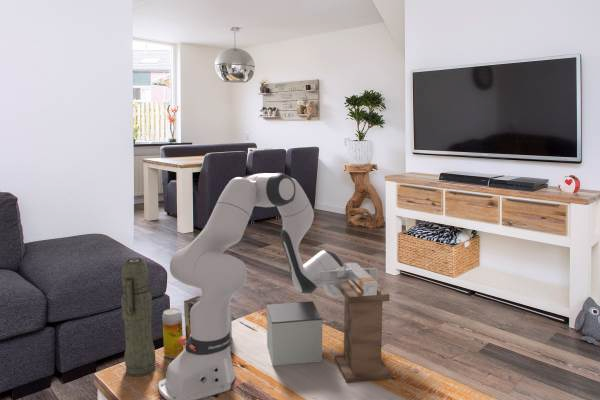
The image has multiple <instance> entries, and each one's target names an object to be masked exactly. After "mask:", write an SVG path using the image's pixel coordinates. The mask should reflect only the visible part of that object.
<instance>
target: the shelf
mask: <svg viewBox="0 0 600 400" xmlns="http://www.w3.org/2000/svg"><path fill="white" fill-rule="evenodd" d="M266 341H267V342H266V345H267V349H268V353H269V357H270V361H271V365H272V367H276V366H277V367H278V366H287V365H297V364H307V363H318V362H319V363H320V362H323V317H322V315H321V313H320V311H319V310H318V308H317V307H316V305H315V303H314V302H313V301H311V300H310V301H299V302H286V303H285V302H283V303H272V304H268V303H267V304H266Z"/></svg>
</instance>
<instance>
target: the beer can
mask: <svg viewBox="0 0 600 400" xmlns="http://www.w3.org/2000/svg"><path fill="white" fill-rule="evenodd" d="M182 317H183V315H182V312H181V310H180V309H179V308H168V309H165V310H164V311H163V314H162V317H161V318H162V332H163V333H162V335H163V337H162V338H163V352H164V356H166V358H169V359H175V358H176V357H177V356H178V355H179V354H180V353H181V352H182V351H183V350H184V345H182V344H181V343H179V339H180V337H182V336H183V335H184V334H183V318H182ZM183 337H184V336H183Z"/></svg>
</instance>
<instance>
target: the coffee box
mask: <svg viewBox="0 0 600 400" xmlns="http://www.w3.org/2000/svg"><path fill="white" fill-rule="evenodd" d="M201 297H202V296H199V295H196V296H195V297H191V298H188V299H186V300H184V301H183V307H184V309H183V310H184V311H183V312H184V327H185V328H184V329H185V338H186V339H187V340H188V338H189V335H190V333H191V328H190V310H191V308H192V306H193V305H194V304H195V303H197V302H198V301H200V300H201Z"/></svg>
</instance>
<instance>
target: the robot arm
mask: <svg viewBox="0 0 600 400" xmlns="http://www.w3.org/2000/svg"><path fill="white" fill-rule="evenodd" d="M254 207H260V208H273V207H276V208H277V210H278V212H279V214H280V217H281V220H282V221H281V222H282V229H281V232H280V241H281V243H282V244H281V245H282V247H283V252H284V254H285V259H286V261H287V264H288V267H289V271H290V277H291V282H292V284H293V286H294V288H295V289H296V290H297V291H298V292H299V293H301V294H307V295H308V294H312V293H313V292H315V290H316V289H318V288H319V286H323V291H324V292H325V295H326V296H328V297H330V298H333V299H340V298H342V297H344V296H343V294H342V293H341V292H340V291H339V283H347V277H346V275H348V272H347V271H348V270H347V269H344V263H343V262H342V261H341V259H340V258H339V257H338V255H337V254H335V252H332V251H330V250H326V249H324V250H323V249H321V250H320V251H318V252H317V253H316V254H315V255H313V256H312V257H311V258H310V259H308V260H307V261H306V262H304V263H303V261H302V258H301V255H300V252H299V246H300V245H301V244H300V243H301V241H302V239H303V238H304V237H305V234H306V233H307V232H308V231H309V229H310V228H311V226H312V225H313V222H314V218H315V212H314V209H313V207H312V204H311V201H310V200H309V198H308V196H307V194H306V193H305V190H304V189H303V187H302V186H301V185H300V183H299V182H298V181H297V180H296V179H295V178H293V177H291V176H289V175H287V174H286V173H283V172H276V173H274V172H273V173H271V172H262V173H255V174H249V175H246V176H243V177H241V176H237V177H233V178H232V179H230V180H229V181H228V183H227V184H226V185H225V187H224V188H223V190H222V192H221V194H220V195H219V197H218V200H217V201H216V204H215V206H214V207H213V211H212V212H211V215H210V217H209V218H208V220H207V223H206V224H205V225H204V227H203V229H202V230H201V232H199V234H198V235H197V236H196V237H195V238H194V239H193V240H192V241H191V242H190V243H188V245H185V246H184V247H182V248H181V249H178V250H177V251H175V252H174V254H173V255H172V257H171V259H170V262H169V271H170V274H171V276H172V277H173V278H174V279H175V280H176V281H177V280H178V282H180V283H182V284H184V285H186V286H191V287H195V288H199V289H200V291H201V296H200V297H201V300H200V301H198V302H197V303H195V304H194V305H193V306H192V308H191V310H190V328H191V333H190V335H189V338H188V340H187V339H186V336H182V337H180V339H179V343H181V344H182V345H183V346H185V348H183V351H182V352H181V353H180V354H179V355H178V356H177V357H176V358H173V360H172V361H171V362H170V363H169V364H168V366H167V368H166V373H165V378H162V379H161V380H159V381H158V383H157V384H158V386H157V389H158V392H159V393H160V395H161V396H162V397H163V398H164V399H165V400H201V399H204V398H207V397H211V396H214V395H218V394H221V393H225V392H228V391H230V390H231V387H232V383H233V382H234V381H235V379H236V372H235V368H234V366H233V362H232V354H231V348H230V347H231V344H232V342H231V337H230V331H229V305H231V301H232V299H233V297H234V296H235V295H236V294H237V293H238V292H239V291H241V290H242V289H243V288H244V286H245V285H246V283H247V279H248V269H247V266H246V263H244V261H243V260H241V259H240V258H237V257H235V256H234V255H230V254H227V253H224V252H225V251H226V250H227V249H228V248H230V247H232V246H234V245H236V244H238V243H239V242H240V241H241V240H242V239H243V236H244V233H245V230H246V228H247V225H248V223H249V221H250V218H251V216H252V214H253V210H254ZM362 268H363V269H364V270H365V271H366V272H367V273H368V274H369V275H370V276H371V277H373V278H374V279H375V280H376V281H378V280H379V278H380V276H379V275H380V274H379V270H378V268H377V267H370V268H369V267H368V268H365V267H362Z"/></svg>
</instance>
